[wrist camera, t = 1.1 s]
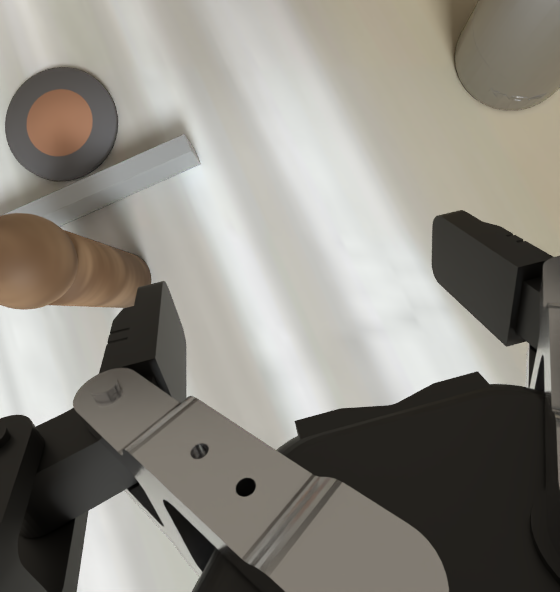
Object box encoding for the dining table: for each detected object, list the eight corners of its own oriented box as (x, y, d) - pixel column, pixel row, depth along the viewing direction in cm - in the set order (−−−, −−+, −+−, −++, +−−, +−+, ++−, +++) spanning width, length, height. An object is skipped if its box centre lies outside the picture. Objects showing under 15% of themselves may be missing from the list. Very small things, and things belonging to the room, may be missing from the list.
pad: (18, 66, 38) (13, 62, 38) (125, 76, 38) (122, 72, 37) (2, 174, 38) (-4, 172, 38) (109, 186, 37) (106, 184, 37)
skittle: (98, 246, 37) (-53, 196, 22) (158, 253, 37) (48, 207, 21) (90, 307, 37) (-70, 301, 21) (149, 315, 37) (32, 315, 21)
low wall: (-5, 254, 38) (-32, 249, 35) (-11, 239, 38) (-38, 232, 35) (200, 163, 37) (191, 150, 34) (194, 148, 37) (184, 133, 34)
